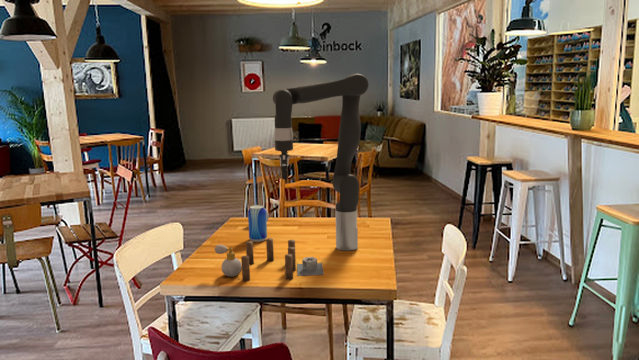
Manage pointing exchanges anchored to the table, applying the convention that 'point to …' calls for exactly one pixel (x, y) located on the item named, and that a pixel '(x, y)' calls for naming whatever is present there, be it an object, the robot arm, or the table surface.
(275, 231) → the table surface
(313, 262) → the nut
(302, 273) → the felt mat
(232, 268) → the perfume bottle
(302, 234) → the table surface
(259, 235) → the beer can
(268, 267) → the table surface
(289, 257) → the post field
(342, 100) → the robot arm
